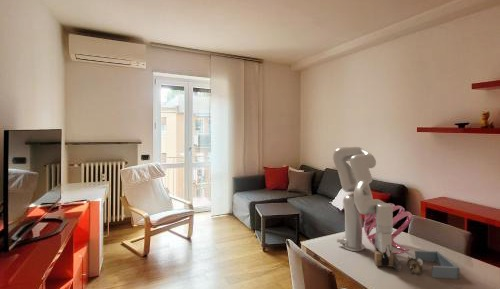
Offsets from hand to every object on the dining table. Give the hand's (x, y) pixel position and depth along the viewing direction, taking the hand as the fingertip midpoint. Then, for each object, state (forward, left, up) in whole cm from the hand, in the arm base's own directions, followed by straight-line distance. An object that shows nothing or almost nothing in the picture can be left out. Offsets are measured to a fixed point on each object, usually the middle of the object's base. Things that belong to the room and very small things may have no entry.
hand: (383, 263), depth 134 cm
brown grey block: (0, 0, -1) cm, 1 cm away
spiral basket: (+10, +22, -2) cm, 24 cm away
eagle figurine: (+13, -3, -2) cm, 14 cm away
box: (+24, 0, -2) cm, 24 cm away
